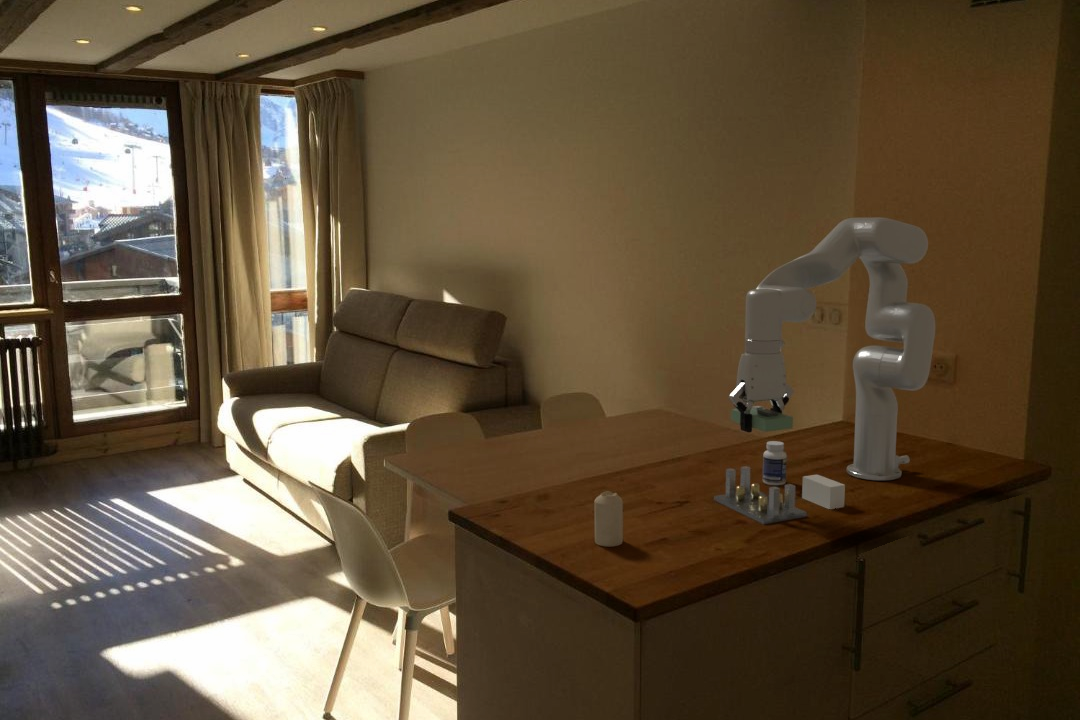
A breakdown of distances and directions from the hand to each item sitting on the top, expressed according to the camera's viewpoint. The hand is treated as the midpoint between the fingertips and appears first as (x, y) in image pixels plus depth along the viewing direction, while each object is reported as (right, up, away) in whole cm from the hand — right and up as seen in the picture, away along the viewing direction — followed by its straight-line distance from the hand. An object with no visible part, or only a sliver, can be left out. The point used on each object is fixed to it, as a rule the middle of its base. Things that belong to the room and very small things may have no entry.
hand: (760, 428), depth 193 cm
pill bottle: (+8, -15, +21) cm, 27 cm away
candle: (-34, -21, -16) cm, 43 cm away
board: (0, +1, 0) cm, 1 cm away
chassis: (0, -18, +3) cm, 18 cm away
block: (+15, -17, +6) cm, 23 cm away
